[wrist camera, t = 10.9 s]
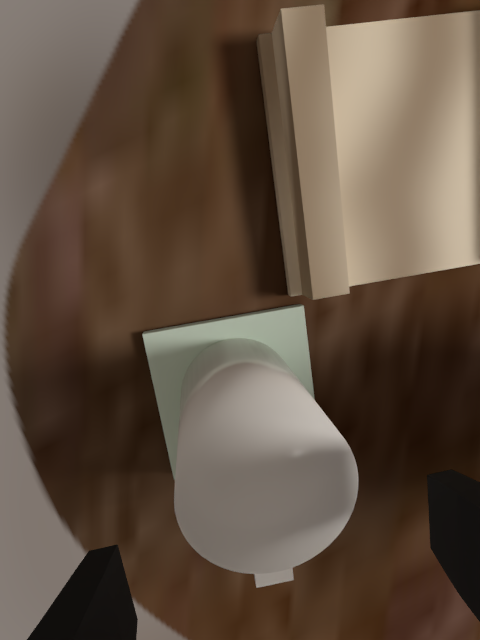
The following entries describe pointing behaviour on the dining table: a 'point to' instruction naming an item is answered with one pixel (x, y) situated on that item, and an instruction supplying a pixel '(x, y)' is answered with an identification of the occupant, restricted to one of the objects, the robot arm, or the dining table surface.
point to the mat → (191, 339)
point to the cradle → (373, 146)
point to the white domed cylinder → (258, 464)
